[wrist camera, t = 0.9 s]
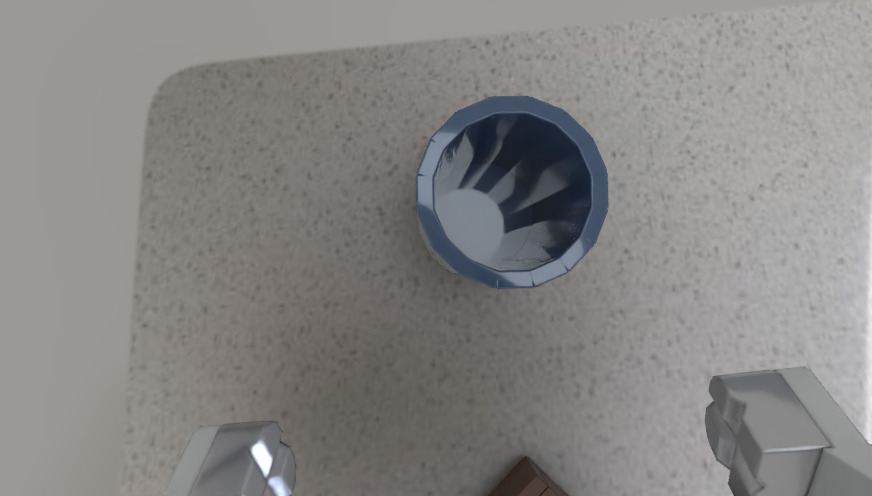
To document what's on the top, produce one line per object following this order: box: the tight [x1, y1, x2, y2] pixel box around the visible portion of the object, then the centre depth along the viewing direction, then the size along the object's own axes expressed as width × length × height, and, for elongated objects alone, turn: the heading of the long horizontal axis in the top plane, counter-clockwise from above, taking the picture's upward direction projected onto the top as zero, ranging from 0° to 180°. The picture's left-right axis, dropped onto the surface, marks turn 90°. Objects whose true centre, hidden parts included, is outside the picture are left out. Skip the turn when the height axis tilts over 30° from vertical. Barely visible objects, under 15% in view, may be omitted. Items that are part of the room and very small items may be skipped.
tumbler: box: [416, 96, 608, 289], centre depth 23 cm, size 6×6×10 cm
